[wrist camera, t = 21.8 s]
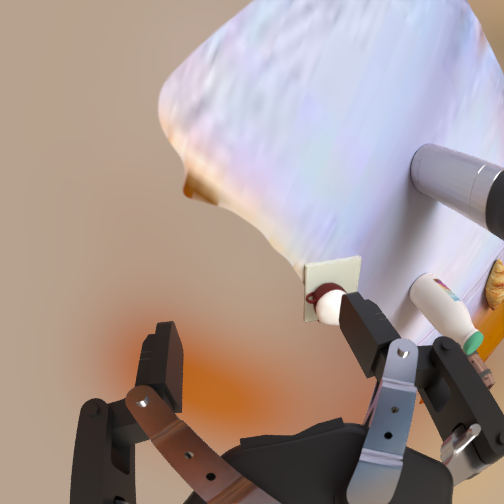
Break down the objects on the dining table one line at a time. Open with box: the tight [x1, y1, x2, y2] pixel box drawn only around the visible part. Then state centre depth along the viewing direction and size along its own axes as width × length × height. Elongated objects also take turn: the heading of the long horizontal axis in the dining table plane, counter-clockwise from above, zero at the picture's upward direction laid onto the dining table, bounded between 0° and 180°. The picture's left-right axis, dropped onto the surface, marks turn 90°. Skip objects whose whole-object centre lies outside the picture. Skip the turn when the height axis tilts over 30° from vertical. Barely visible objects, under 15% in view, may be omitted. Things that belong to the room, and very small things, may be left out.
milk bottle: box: [410, 273, 483, 355], centre depth 44 cm, size 8×8×20 cm
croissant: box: [485, 259, 504, 310], centre depth 57 cm, size 21×10×8 cm, turn 30°
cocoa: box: [305, 282, 347, 325], centre depth 43 cm, size 10×6×12 cm, turn 54°
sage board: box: [304, 255, 361, 322], centre depth 48 cm, size 10×12×1 cm
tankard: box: [457, 342, 495, 390], centre depth 63 cm, size 24×17×20 cm
